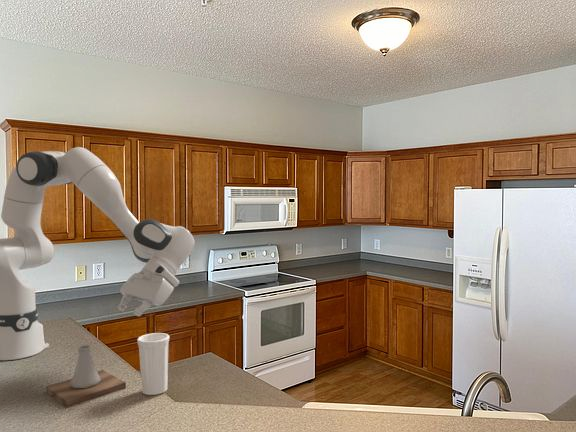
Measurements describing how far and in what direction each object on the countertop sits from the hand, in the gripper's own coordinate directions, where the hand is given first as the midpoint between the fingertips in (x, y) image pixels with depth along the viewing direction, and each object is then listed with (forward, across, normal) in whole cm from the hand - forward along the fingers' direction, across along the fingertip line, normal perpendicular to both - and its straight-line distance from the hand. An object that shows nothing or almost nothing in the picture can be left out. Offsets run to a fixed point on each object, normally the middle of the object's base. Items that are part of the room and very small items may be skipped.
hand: (127, 312), depth 126 cm
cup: (+14, +15, +12) cm, 24 cm away
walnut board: (+22, 0, +4) cm, 22 cm away
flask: (+21, 0, +3) cm, 21 cm away
